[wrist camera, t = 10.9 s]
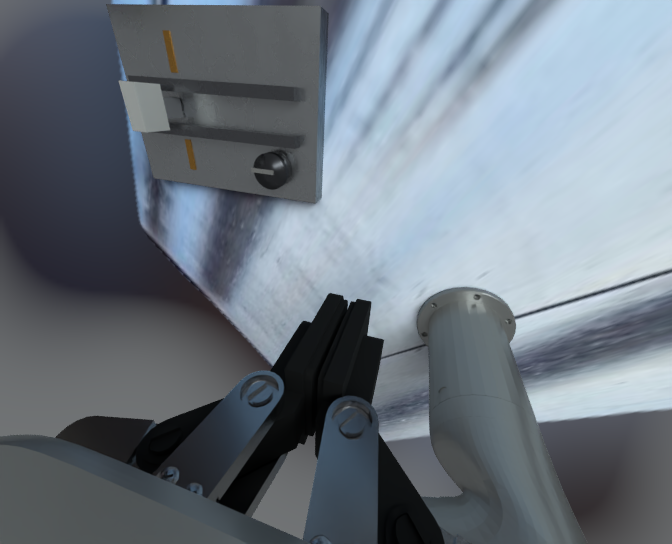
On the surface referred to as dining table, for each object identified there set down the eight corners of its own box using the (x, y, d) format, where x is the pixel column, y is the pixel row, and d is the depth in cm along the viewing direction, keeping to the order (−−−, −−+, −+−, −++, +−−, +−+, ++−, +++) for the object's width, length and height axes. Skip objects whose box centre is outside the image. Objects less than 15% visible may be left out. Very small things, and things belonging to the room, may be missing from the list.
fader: (185, 128, 34) (147, 132, 29) (172, 127, 34) (132, 130, 30) (177, 85, 31) (134, 81, 27) (162, 84, 32) (117, 80, 27)
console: (321, 197, 36) (309, 208, 32) (167, 174, 41) (140, 181, 37) (328, 13, 27) (312, -2, 23) (126, 10, 31) (85, -3, 28)
